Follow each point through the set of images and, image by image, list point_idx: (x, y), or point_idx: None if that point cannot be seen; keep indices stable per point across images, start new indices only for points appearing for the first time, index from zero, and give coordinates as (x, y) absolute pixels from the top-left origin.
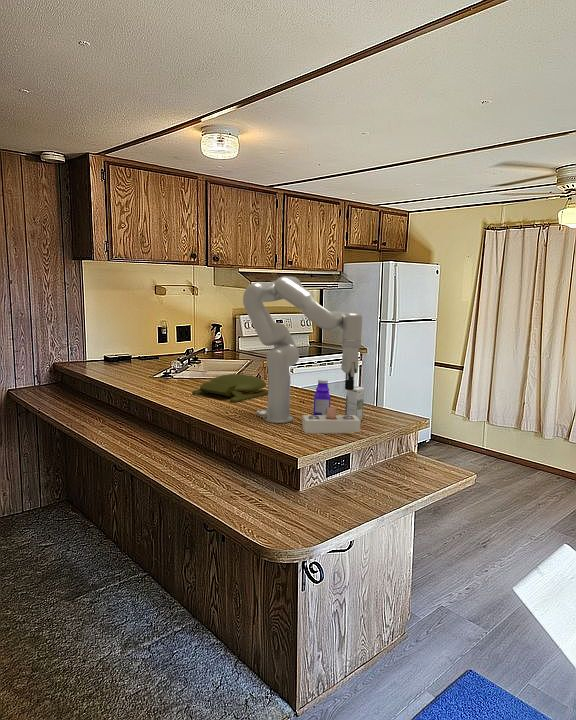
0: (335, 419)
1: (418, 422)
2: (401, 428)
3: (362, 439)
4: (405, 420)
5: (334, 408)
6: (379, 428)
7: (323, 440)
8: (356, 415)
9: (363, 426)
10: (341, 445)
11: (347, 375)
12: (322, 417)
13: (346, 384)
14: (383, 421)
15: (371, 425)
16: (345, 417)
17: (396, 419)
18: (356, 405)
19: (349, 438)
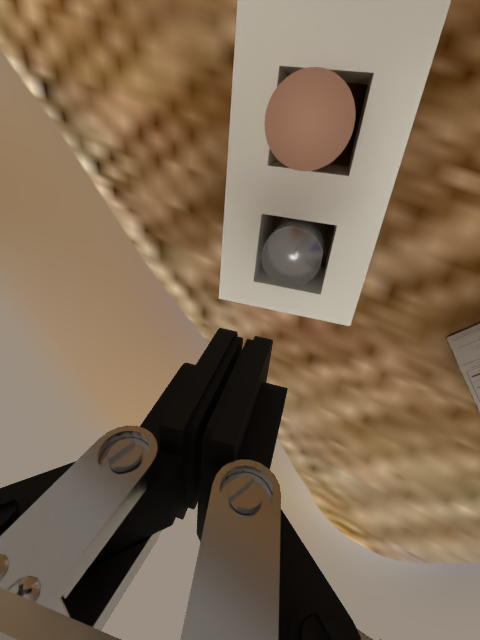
0: (267, 147)
1: (352, 528)
2: (287, 447)
3: (145, 243)
4: (394, 515)
5: (295, 152)
6: (302, 383)
7: (112, 4)
8: (457, 363)
9: (352, 338)
10: (46, 102)
11: (44, 514)
12: (348, 36)
13: (192, 374)
14: (410, 450)
15: (359, 377)
16: (275, 232)
17: (422, 502)
18: (477, 404)
19: (157, 187)
